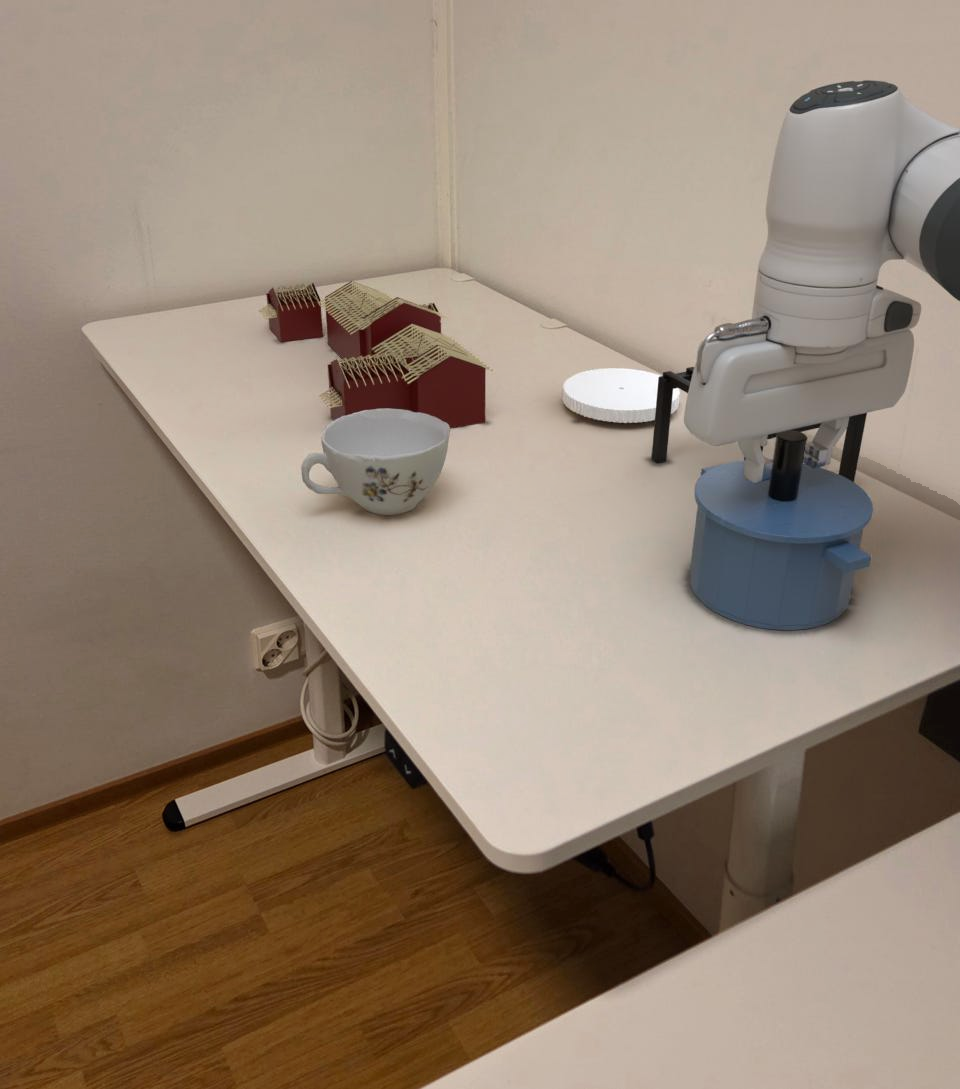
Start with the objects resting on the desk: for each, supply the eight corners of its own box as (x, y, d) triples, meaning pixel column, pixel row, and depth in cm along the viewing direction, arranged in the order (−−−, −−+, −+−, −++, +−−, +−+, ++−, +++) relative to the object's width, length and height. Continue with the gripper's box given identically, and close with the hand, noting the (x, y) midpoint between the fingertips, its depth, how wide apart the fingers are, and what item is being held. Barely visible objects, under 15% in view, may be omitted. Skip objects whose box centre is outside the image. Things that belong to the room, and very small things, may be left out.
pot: (759, 525, 107) (771, 445, 103) (905, 622, 93) (926, 533, 88) (643, 556, 102) (650, 473, 98) (778, 663, 87) (793, 571, 83)
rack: (752, 436, 126) (764, 353, 121) (852, 493, 114) (869, 402, 109) (651, 459, 121) (658, 372, 116) (743, 521, 108) (756, 426, 103)
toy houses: (506, 418, 130) (507, 335, 125) (339, 446, 123) (334, 359, 118) (381, 312, 166) (379, 244, 161) (247, 328, 159) (239, 258, 154)
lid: (790, 459, 102) (801, 391, 99) (909, 526, 91) (925, 452, 87) (659, 490, 96) (666, 419, 93) (768, 566, 85) (780, 488, 82)
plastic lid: (579, 435, 126) (580, 414, 125) (549, 391, 138) (550, 371, 137) (695, 426, 129) (697, 405, 128) (655, 383, 141) (657, 364, 140)
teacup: (423, 467, 119) (421, 397, 115) (471, 517, 109) (471, 442, 105) (287, 493, 113) (280, 421, 109) (324, 547, 103) (318, 470, 99)
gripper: (728, 340, 78) (708, 512, 85) (938, 303, 86) (904, 463, 93) (676, 316, 83) (661, 480, 90) (879, 283, 91) (851, 436, 98)
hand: (786, 471), depth 92 cm, fingers open, 5 cm apart
